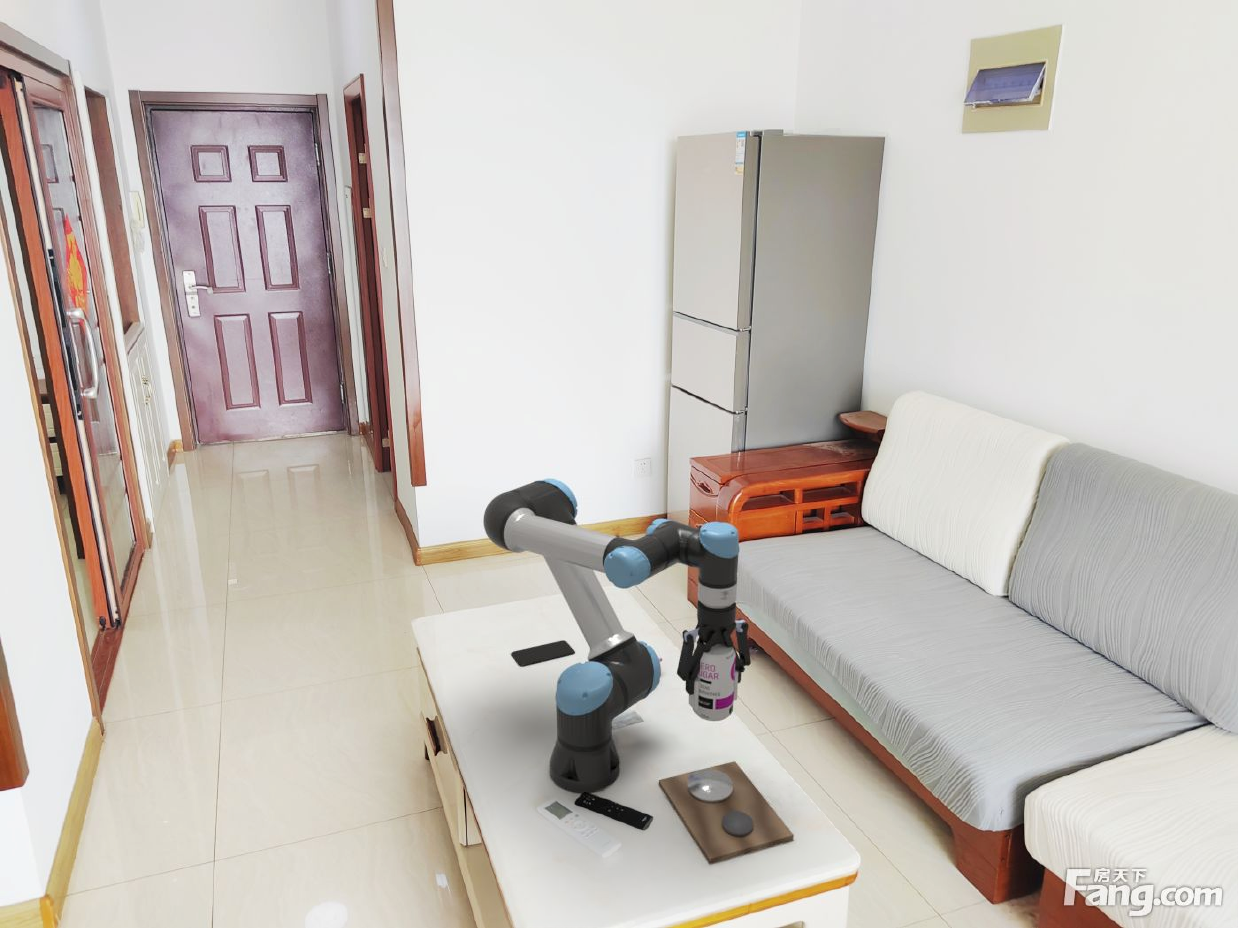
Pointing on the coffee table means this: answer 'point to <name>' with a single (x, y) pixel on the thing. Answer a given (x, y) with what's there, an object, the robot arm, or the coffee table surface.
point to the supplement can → (716, 683)
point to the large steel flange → (710, 786)
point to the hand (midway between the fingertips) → (712, 701)
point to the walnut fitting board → (708, 816)
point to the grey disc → (737, 823)
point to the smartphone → (542, 653)
